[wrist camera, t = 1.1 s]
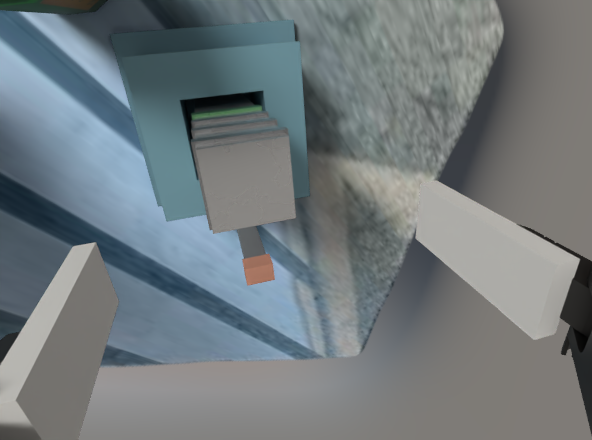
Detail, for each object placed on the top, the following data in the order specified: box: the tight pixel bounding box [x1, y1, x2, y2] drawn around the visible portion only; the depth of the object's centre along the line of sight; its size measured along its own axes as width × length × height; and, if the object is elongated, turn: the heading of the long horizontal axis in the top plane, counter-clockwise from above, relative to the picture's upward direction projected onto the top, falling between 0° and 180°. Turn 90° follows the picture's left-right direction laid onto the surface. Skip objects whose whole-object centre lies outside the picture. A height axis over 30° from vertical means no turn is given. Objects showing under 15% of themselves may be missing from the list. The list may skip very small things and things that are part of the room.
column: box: [191, 93, 296, 234], centre depth 30 cm, size 5×5×22 cm
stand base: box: [110, 20, 310, 285], centre depth 31 cm, size 18×18×21 cm
